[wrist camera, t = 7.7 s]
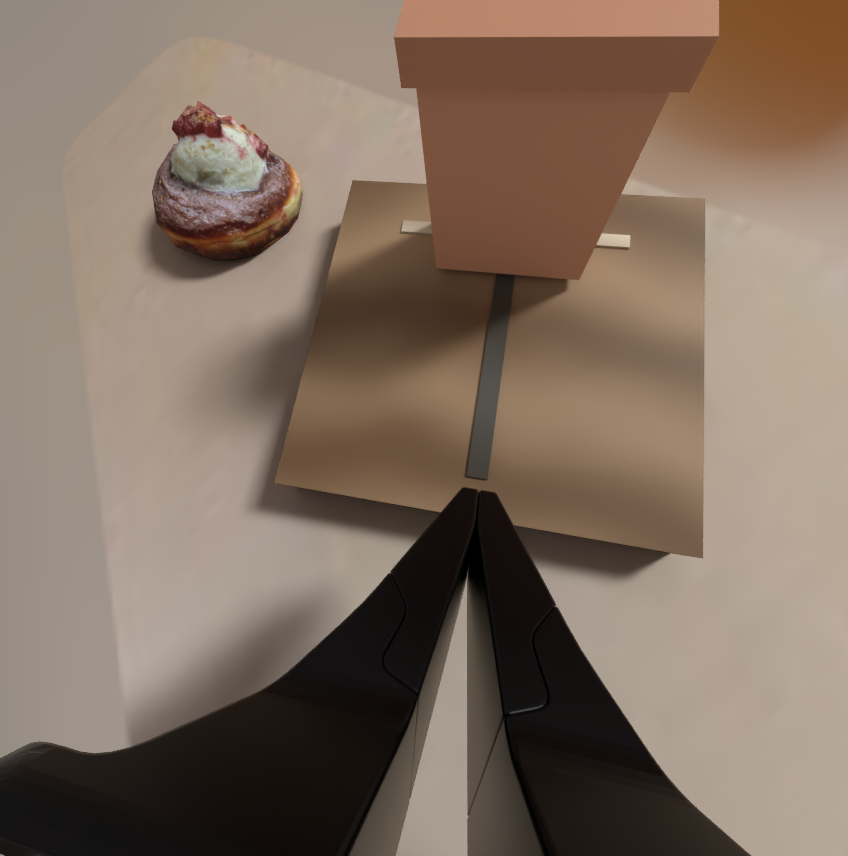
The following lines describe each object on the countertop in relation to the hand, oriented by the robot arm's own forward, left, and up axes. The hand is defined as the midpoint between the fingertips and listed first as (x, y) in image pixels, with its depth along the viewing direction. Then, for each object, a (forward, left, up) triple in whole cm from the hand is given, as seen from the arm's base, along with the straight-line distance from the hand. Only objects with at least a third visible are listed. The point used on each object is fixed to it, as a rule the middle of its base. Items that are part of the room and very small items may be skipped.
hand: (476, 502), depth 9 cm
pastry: (-11, +18, -7) cm, 22 cm away
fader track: (+2, +7, -7) cm, 10 cm away
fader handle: (+3, +11, -5) cm, 12 cm away
